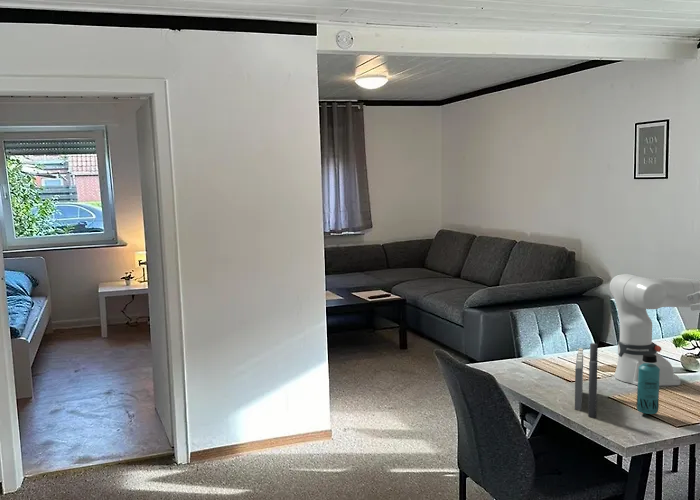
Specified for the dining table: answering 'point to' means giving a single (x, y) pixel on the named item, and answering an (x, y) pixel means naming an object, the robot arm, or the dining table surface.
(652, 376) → the beverage bottle
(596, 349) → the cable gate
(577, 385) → the breaker panel
